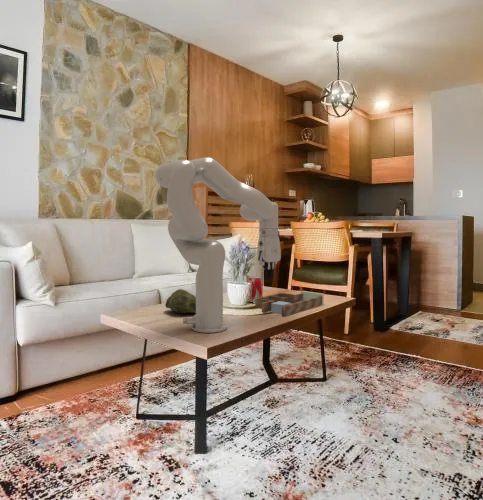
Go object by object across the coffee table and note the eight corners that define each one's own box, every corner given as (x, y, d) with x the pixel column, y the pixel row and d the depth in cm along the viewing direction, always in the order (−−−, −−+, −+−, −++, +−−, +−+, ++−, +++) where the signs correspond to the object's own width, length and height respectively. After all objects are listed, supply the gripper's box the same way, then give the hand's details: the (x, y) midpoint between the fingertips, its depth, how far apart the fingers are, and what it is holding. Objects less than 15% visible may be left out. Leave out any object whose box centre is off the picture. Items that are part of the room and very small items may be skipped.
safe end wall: (322, 304, 181) (322, 294, 181) (300, 301, 188) (301, 291, 188) (323, 304, 182) (323, 293, 181) (302, 301, 189) (302, 290, 189)
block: (283, 314, 162) (283, 305, 162) (271, 312, 166) (271, 303, 166) (291, 312, 167) (291, 302, 167) (279, 310, 171) (279, 301, 171)
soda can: (261, 303, 183) (261, 278, 182) (246, 303, 185) (246, 277, 184) (263, 301, 190) (263, 276, 189) (249, 300, 191) (249, 275, 191)
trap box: (284, 316, 158) (284, 306, 158) (246, 309, 171) (246, 300, 171) (322, 304, 181) (322, 296, 181) (286, 299, 194) (286, 291, 193)
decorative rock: (196, 311, 175) (198, 288, 176) (206, 316, 160) (207, 291, 161) (163, 310, 170) (164, 287, 171) (169, 315, 155) (171, 290, 156)
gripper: (264, 234, 149) (264, 282, 151) (287, 233, 161) (286, 277, 162) (249, 233, 154) (249, 280, 156) (272, 232, 166) (272, 276, 167)
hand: (268, 279), depth 159 cm, fingers closed
